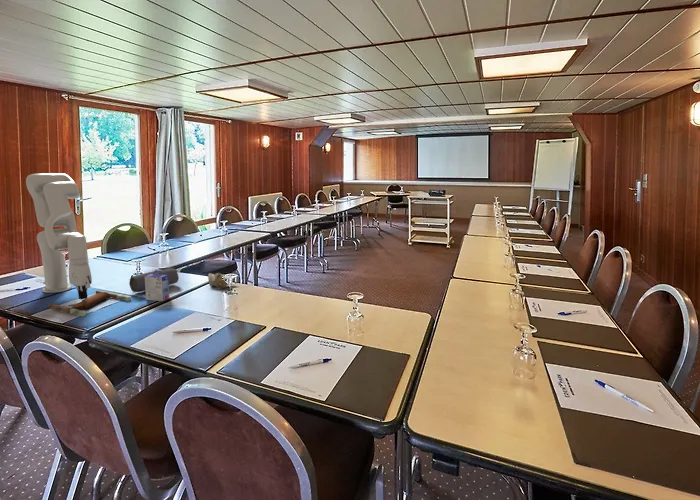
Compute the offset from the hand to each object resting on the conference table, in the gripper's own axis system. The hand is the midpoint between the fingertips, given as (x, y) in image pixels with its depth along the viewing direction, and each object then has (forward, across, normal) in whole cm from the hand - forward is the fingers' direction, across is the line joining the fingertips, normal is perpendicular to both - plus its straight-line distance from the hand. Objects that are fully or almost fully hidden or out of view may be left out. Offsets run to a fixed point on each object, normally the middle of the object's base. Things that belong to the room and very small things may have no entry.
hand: (83, 298), depth 198 cm
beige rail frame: (+2, +5, 0) cm, 6 cm away
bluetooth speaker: (+3, +13, +31) cm, 33 cm away
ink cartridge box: (+3, +27, +20) cm, 33 cm away
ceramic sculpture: (+3, +40, +50) cm, 64 cm away
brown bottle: (+3, +4, 0) cm, 5 cm away
